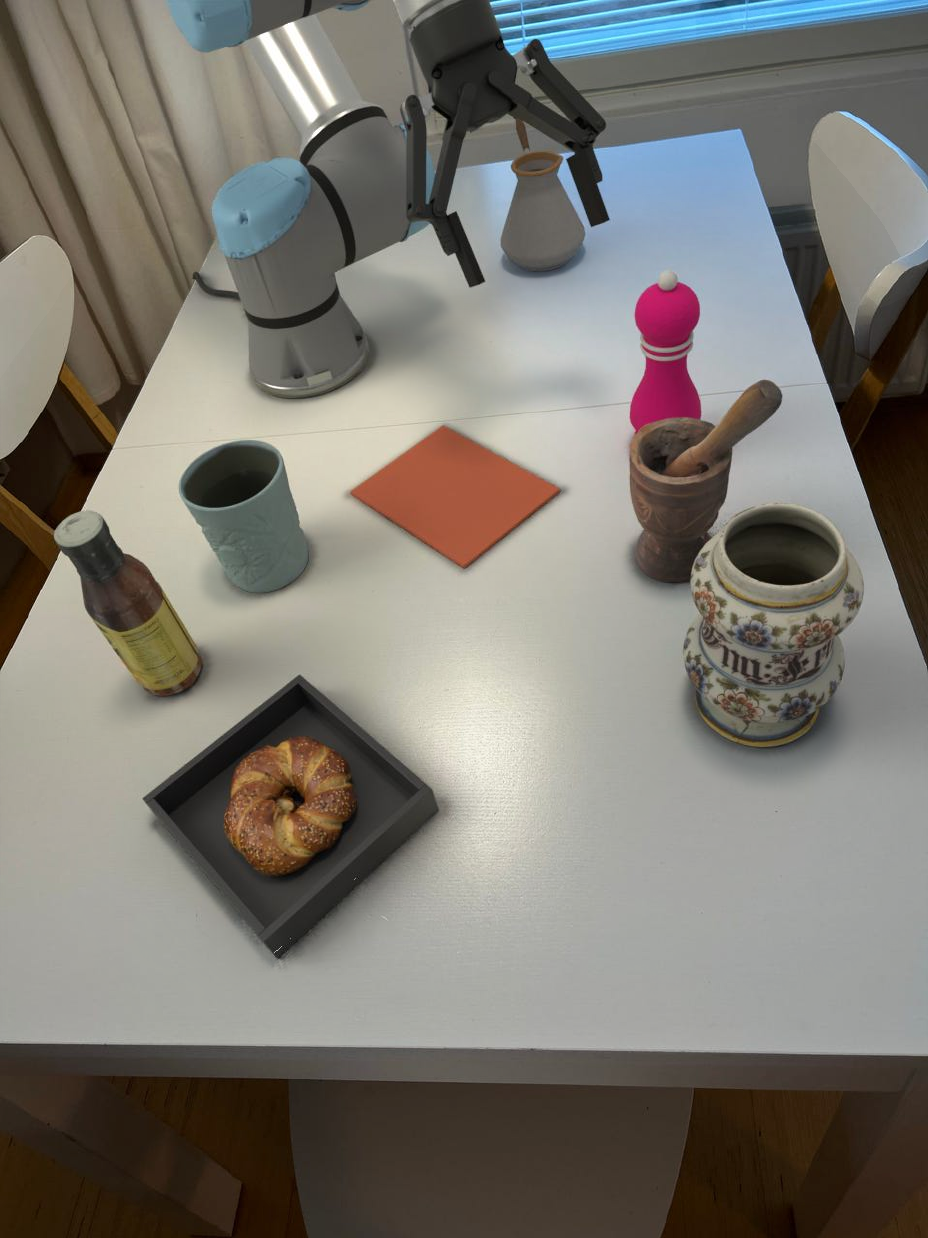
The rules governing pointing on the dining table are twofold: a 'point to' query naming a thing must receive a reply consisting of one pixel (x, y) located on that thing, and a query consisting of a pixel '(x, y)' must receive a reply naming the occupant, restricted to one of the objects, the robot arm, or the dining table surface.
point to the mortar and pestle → (688, 480)
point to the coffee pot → (540, 212)
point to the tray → (368, 837)
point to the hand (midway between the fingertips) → (539, 254)
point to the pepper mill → (666, 352)
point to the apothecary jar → (770, 622)
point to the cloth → (455, 495)
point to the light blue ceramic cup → (247, 513)
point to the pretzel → (288, 804)
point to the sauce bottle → (129, 607)
